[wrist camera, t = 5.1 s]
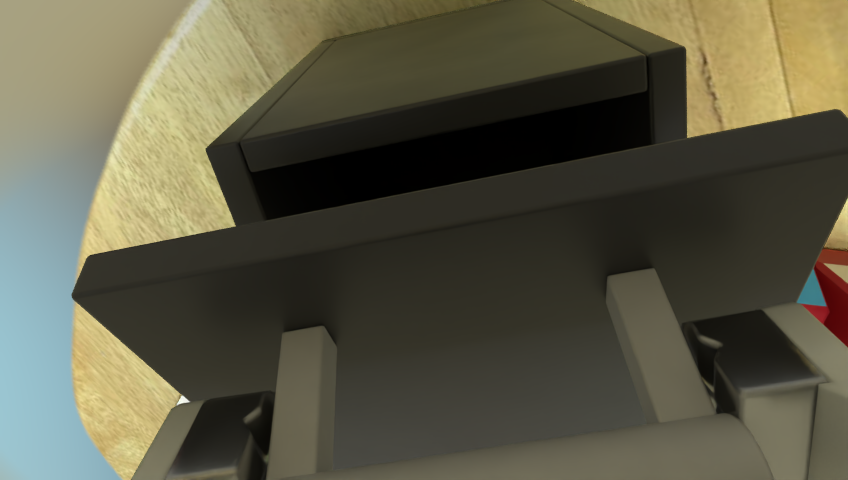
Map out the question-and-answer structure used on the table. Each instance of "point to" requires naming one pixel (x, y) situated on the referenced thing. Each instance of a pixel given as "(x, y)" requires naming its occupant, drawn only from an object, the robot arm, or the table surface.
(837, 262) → the toy truck
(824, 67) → the table surface
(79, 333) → the table surface
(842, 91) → the table surface
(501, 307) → the storage box lid
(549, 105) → the lidded storage box
